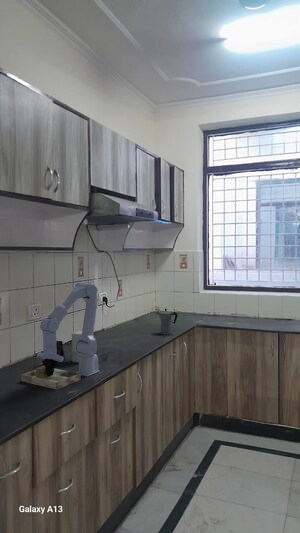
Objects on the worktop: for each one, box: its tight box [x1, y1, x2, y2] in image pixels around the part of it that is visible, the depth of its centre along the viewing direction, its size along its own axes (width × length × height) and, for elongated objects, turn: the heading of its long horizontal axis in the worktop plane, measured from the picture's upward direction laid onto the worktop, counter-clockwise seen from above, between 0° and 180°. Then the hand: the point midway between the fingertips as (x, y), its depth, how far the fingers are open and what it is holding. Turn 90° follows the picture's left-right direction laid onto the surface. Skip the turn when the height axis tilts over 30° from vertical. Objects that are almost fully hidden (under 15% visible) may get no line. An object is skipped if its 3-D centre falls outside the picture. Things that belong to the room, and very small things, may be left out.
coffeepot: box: [156, 308, 179, 336], centre depth 287 cm, size 15×9×18 cm, turn 70°
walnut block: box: [35, 365, 50, 379], centre depth 180 cm, size 5×5×4 cm
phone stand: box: [55, 340, 66, 367], centre depth 212 cm, size 9×6×12 cm, turn 166°
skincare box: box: [71, 330, 87, 364], centre depth 216 cm, size 8×7×16 cm
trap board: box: [20, 368, 82, 390], centre depth 183 cm, size 15×22×3 cm, turn 58°
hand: (50, 375), depth 178 cm, fingers closed
